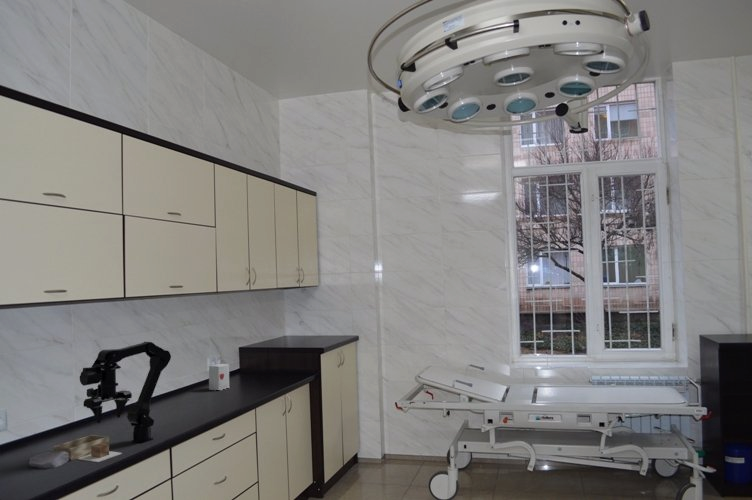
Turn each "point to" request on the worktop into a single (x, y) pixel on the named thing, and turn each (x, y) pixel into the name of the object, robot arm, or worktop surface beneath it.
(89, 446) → the slot box
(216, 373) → the supplement box
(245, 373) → the worktop surface
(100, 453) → the walnut block
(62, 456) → the stone block
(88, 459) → the grey mat
